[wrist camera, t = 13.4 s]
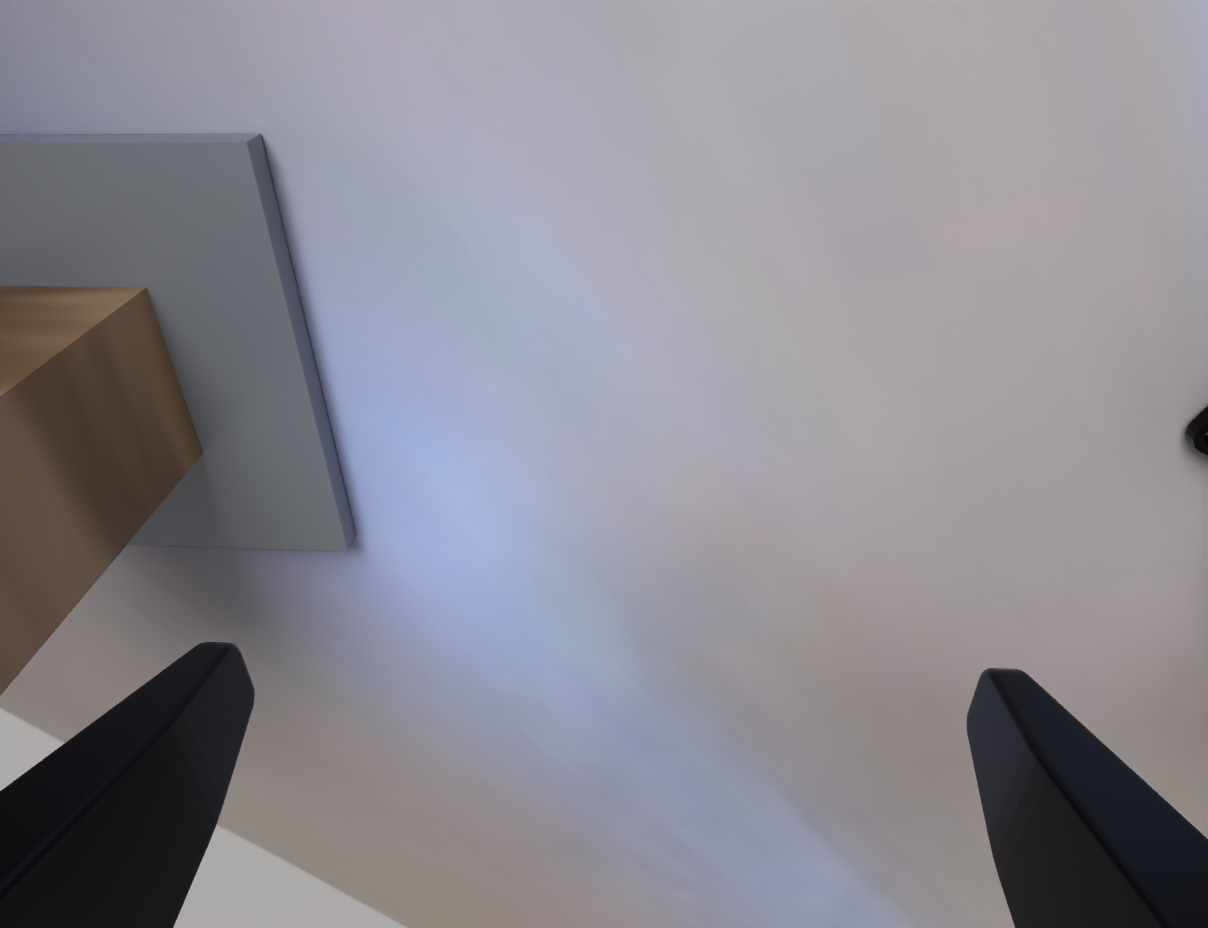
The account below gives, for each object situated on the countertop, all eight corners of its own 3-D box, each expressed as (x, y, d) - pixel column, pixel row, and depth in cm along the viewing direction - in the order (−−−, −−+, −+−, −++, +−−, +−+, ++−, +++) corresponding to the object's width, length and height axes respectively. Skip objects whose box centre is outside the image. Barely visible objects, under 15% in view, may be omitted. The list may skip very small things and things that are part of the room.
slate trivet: (260, 133, 19) (246, 142, 19) (355, 534, 26) (347, 551, 26) (-220, 135, 20) (-250, 143, 20) (-8, 524, 27) (-25, 540, 26)
